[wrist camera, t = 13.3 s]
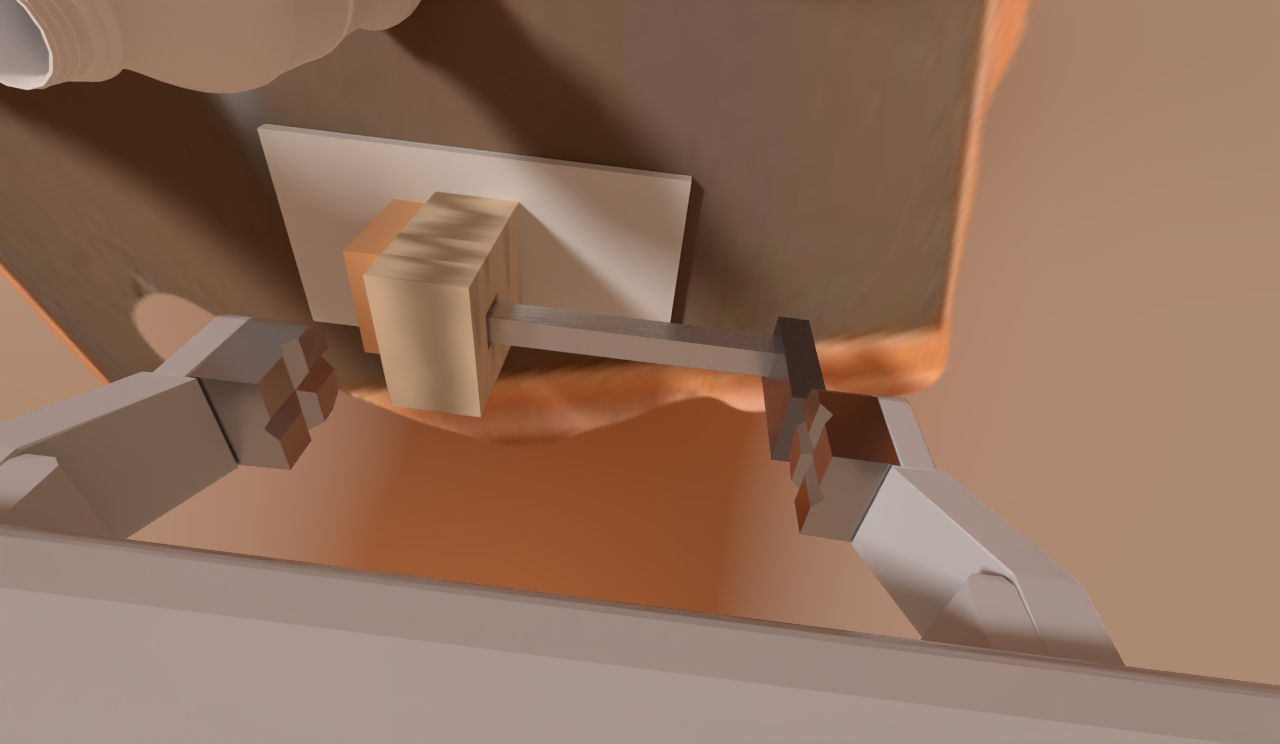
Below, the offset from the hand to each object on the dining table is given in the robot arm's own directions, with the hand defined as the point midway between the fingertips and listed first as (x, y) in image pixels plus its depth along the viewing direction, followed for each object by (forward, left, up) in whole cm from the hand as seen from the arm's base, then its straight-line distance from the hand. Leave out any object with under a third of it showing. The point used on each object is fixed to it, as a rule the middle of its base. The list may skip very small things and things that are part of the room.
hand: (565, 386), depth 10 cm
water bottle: (-17, +2, -34) cm, 38 cm away
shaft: (0, -17, -26) cm, 31 cm away
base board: (-12, -17, -34) cm, 40 cm away
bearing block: (-12, -17, -34) cm, 40 cm away
